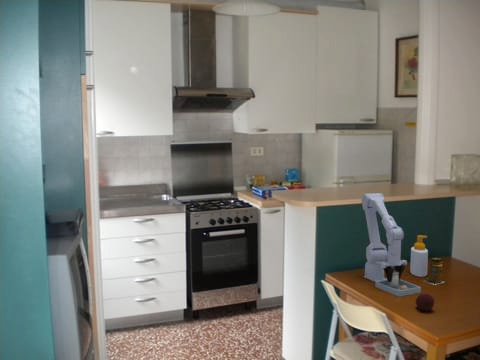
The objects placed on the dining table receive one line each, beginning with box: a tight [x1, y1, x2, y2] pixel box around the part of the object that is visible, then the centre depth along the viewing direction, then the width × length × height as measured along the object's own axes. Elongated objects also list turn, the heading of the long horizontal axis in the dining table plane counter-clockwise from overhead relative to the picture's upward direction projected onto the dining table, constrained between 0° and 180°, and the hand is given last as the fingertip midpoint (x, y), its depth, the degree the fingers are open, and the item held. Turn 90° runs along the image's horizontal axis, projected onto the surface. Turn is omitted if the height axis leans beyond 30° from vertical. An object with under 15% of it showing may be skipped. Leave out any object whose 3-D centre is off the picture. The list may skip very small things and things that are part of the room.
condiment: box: [423, 257, 446, 286], centre depth 248 cm, size 7×8×12 cm
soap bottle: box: [409, 234, 429, 278], centre depth 261 cm, size 13×8×20 cm, turn 171°
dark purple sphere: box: [415, 293, 435, 312], centre depth 210 cm, size 7×8×7 cm
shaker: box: [389, 269, 399, 286], centre depth 237 cm, size 5×5×6 cm
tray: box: [374, 278, 422, 298], centre depth 235 cm, size 16×14×3 cm
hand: (393, 280), depth 237 cm, fingers closed on shaker, 4 cm apart
